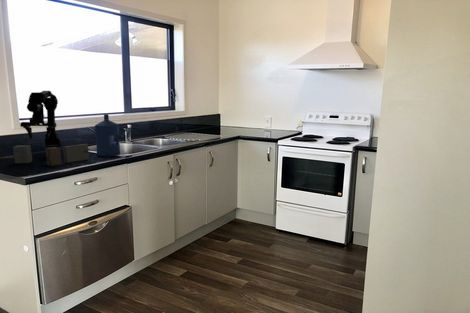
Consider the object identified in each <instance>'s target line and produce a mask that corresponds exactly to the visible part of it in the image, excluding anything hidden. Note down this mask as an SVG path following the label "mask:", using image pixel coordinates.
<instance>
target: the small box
mask: <svg viewBox="0 0 470 313" xmlns="http://www.w3.org/2000/svg"><path fill="white" fill-rule="evenodd" d="M12 150H13V157H14V163H15V164H29V163H32V162H33V155H32V148H31V144H24V145H22V144H21V145H15V146H12Z"/></svg>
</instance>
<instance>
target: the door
mask: <svg viewBox="0 0 470 313" xmlns="http://www.w3.org/2000/svg"><path fill="white" fill-rule="evenodd" d="M62 153H63V163H64V164H68V163H73V162H80V161H85V160H89V159H90V155H89V144H88V143H81V144H74V145H65V146H62Z"/></svg>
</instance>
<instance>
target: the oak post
mask: <svg viewBox="0 0 470 313" xmlns="http://www.w3.org/2000/svg"><path fill="white" fill-rule="evenodd" d="M61 155H62V153H61V147H58V148H57V147H51V148H49V147H46V148H45V156H46V157H45V158H46V164H47V165H48V166H52V167H54V166H61V165H62V156H61Z"/></svg>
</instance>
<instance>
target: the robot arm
mask: <svg viewBox="0 0 470 313" xmlns="http://www.w3.org/2000/svg"><path fill="white" fill-rule="evenodd" d="M28 97H29V98H28V100H27V101H28V102H27V105H26V110H27V111H28V112H31V113H32V115H31V116H32V117H30V118H29V121H22V122H20V124H19V126H20V127H22V128H23V129H25V131H26V132H27V134H28V137H29V139H31V140H32V138H33V128H32V127H46V134H45V136H44V145H45V147H46V148H51V147H57V148H61V147H62V142H61V140H60V138H59V135H58V134H57V132H56V128H57V123H56V114H55V112H56V110H57V108H58V103H59V102H58V98H57V96H56V95H55V94H53V93H52V91H51V90H41V91H40V92H35V91H34V92H30V94H29V96H28ZM44 108H45V110H46V116H47V122H46V123H45V119H44V118H45V114H44Z"/></svg>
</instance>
